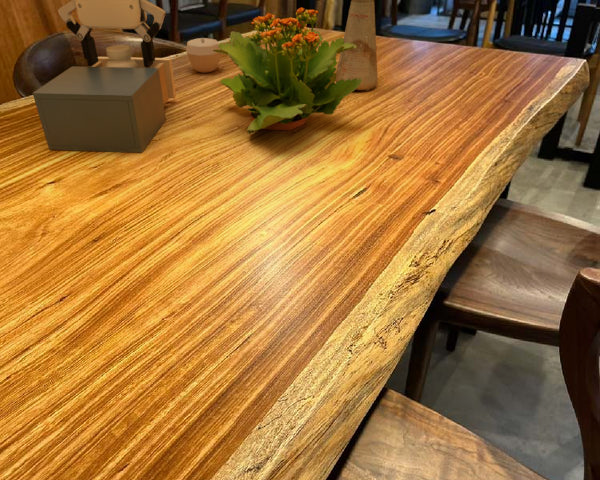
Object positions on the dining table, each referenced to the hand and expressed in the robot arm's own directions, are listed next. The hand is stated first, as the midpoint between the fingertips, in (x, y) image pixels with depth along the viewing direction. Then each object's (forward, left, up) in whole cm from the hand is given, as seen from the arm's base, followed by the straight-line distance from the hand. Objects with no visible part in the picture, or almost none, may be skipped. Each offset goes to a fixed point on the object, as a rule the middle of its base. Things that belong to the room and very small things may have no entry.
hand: (121, 64), depth 91 cm
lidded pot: (+8, +29, -8) cm, 31 cm away
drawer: (0, +3, -7) cm, 8 cm away
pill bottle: (0, 0, -6) cm, 6 cm away
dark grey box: (0, -10, -8) cm, 13 cm away
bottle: (+41, +20, -8) cm, 46 cm away
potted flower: (+27, -1, -8) cm, 28 cm away
